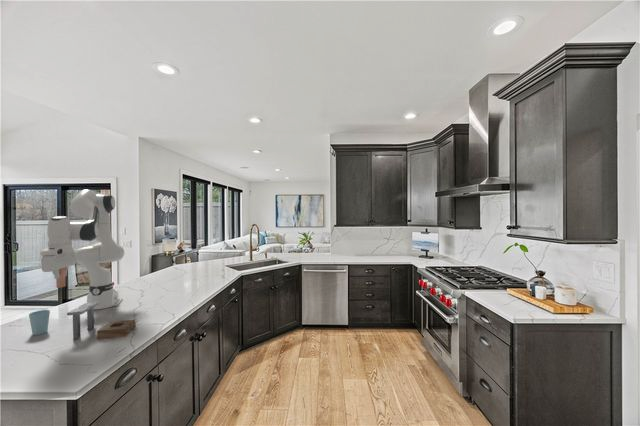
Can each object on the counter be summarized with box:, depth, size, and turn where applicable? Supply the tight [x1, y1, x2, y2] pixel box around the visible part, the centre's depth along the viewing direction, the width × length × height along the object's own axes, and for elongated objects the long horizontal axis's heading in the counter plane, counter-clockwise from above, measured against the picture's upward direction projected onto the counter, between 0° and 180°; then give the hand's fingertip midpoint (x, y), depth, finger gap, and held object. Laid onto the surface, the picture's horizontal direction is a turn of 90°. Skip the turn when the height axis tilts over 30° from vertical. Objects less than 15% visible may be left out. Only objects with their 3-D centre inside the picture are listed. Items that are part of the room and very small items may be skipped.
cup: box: [28, 309, 51, 336], centre depth 149 cm, size 8×8×10 cm
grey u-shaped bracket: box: [66, 302, 98, 341], centre depth 147 cm, size 15×6×13 cm, turn 12°
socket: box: [96, 319, 137, 340], centre depth 147 cm, size 12×12×4 cm
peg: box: [55, 267, 67, 289], centre depth 145 cm, size 3×3×10 cm
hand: (60, 277), depth 145 cm, fingers closed on peg, 3 cm apart
